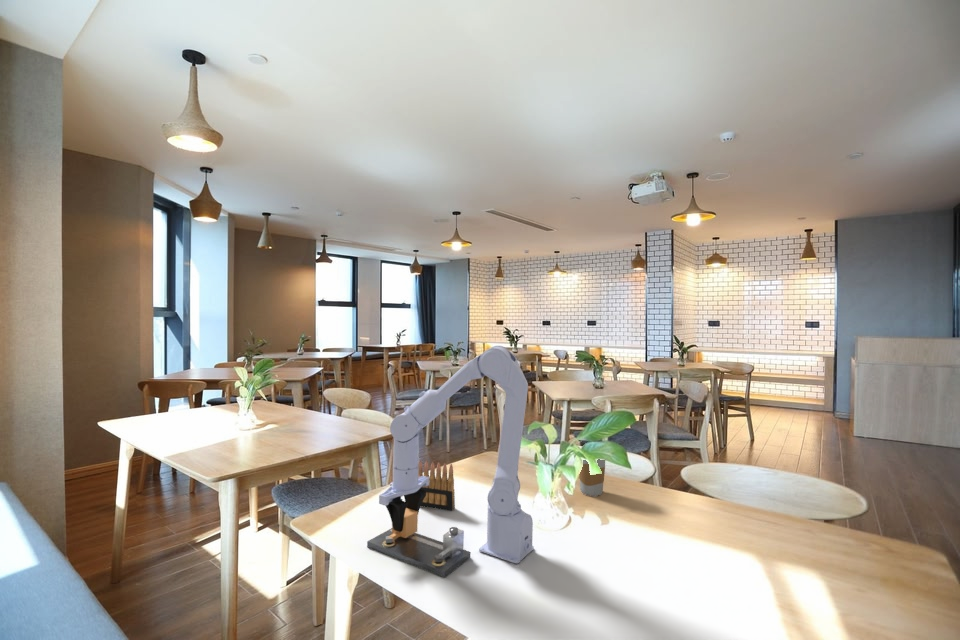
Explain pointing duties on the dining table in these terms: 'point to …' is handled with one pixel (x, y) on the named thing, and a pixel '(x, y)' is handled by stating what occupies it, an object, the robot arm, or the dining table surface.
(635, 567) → the dining table surface
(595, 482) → the coffee cup
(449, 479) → the ammunition clip
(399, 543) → the bolt plate
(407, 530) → the orange block with rod
